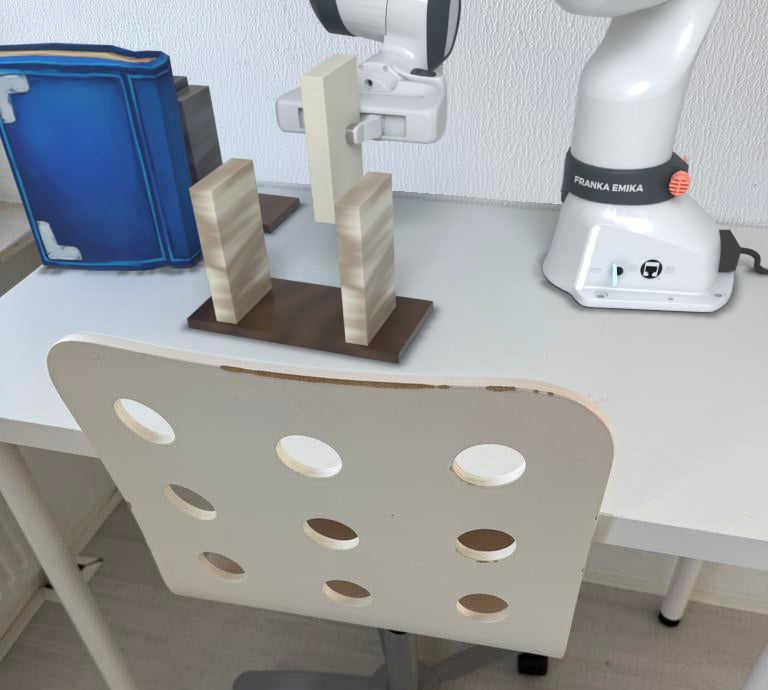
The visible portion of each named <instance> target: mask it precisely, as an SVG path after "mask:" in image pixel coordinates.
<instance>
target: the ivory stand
mask: <svg viewBox="0 0 768 690" xmlns="http://www.w3.org/2000/svg"><path fill="white" fill-rule="evenodd" d="M255 172H256V171H255V166H254V159H248V158H238V157H237V158H236V157H231V158H230V159H228V160H226V161H225V162H224V163H223V164H222V165H221V166H220V167H218V168H217V169H216V170H214V171H213V172H211V173H210V174H209V175H207V176H206V177H204V178H203V179H202V180H200V181H199V182H197V183H196V184H195V185H193V186H192V187H190V188H189V191H190V196H191V200H192V205H193V210H194V214H195V219H196V224H197V229H198V233H199V238H200V243H201V248H202V257H203V262H204V266H205V270H206V275H207V280H208V285H209V289H210V290H209V291H210V297H209V298H207V299H206V300H205V301H204V302H203V303H202V304H200V306H199V307H198V308H197V309H195V310H194V311H193V312H192V313H191V314H190V315H189V316H188V317H187V318H186V321H187V325H188V328H189V329H195V330H200V331H205V332H212V333H218V334H224V335H229V336H235V337H241V338H246V339H253V340H259V341H263V342H269V343H276V344H282V345H288V346H294V347H300V348H305V349H311V350H316V351H322V352H327V353H332V354H333V353H334V354H340V355H346V356H351V357H357V358H363V359H369V360H375V361H381V362H386V363H393V364H396V365H397V364H400V362H401V361H402V359H403V358H404V356H405V354H406V353H407V351H408V350H409V349H410V347H411V345H412V343H413V342H414V340H415V339H416V337H418V334H419V333H420V332H421V330H422V328H423V327H424V325H425V323H426V322H427V321H428V319H429V318H430V316H431V314H432V312H433V311H434V301H433V300H429V299H420V298H416V297H415V298H414V297H407V296H403V295H396V271H395V270H396V268H395V267H396V266H395V264H396V263H395V239H394V237H395V236H394V235H395V233H394V204H393V203H394V202H393V201H394V200H393V175H392V174H393V173H390V172H379V171H367V172H366V173H365V174H363V177H362V178H361V179H360V180H359V181H358V182H357V183H356V184H355V185H354V186H353V187H352V188H351V189H350V190H349V191H348V192H347V193H346V194H345V195H344V196H343V197H342V198H341V199H340V200H339V201H338V202H337V203H336V204H335V205H334V208H335V220H336V224H335V230H336V241H337V243H336V244H337V253H338V254H337V256H338V266H339V279H340V287H339V286H333V285H327V284H326V285H325V284H318V283H312V282H306V281H299V280H291V279H284V278H277V277H272V276H271V273H270V265H269V258H268V252H267V244H266V239H265V238H266V237H265V233H264V231H263V225H262V218H261V212H260V205H259V198H258V193H259V192H258V186H257V180H256V179H257V178H256V173H255Z"/></svg>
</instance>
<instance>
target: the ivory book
mask: <svg viewBox="0 0 768 690" xmlns="http://www.w3.org/2000/svg"><path fill="white" fill-rule="evenodd" d="M357 63H358V62H357V54H347V53H333V54H332V55H330V56H329V57H327V58H326V59H324V60H323V61H321V62H320V63H318V64H317V65H315V66H313V67H312V68H310V69H309V70H307V71H306V72H304V73H303V74H301V75H300V76H299V84H300V87H301V95H302V104H303V114H304V123H305V133H306V134H305V140H306V141H305V142H306V150H307V159H308V161H307V162H308V170H309V179H310V186H311V187H310V188H311V199H312V205H313V206H312V207H313V217H314V218H313V219H314V222H315V223H320V224H330V225H336V220H335V208H334V205H335V204H336V203H337V202H338V201H339V200H340V199H341V198H342V197H343V196H344V195H345V194H346V193H347V192H348V191H349V190H350V189H351V188H352V187H353V186H354V185H355V184H356V183H357V182H358V181H359V180H360V179H361V178H362V177H363V176H364V164H363V146H362V143H361V144H360V145H353V144H347V143H346V137H347V136H346V132H345V131H346V127H347V126H349V125H350V124H351V123H360V110H359V93H358V76H357V66H358V64H357Z"/></svg>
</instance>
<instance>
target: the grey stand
mask: <svg viewBox="0 0 768 690" xmlns="http://www.w3.org/2000/svg"><path fill="white" fill-rule="evenodd" d="M173 78H174V84H175V90H176V95H177V101H178V107H179V112H180V118H181V124H182V129H183V135H184V140H185V146H186V152H187V157H188V163H189V169H190V174H191V180H192V186H193V185H195V184H196V183H197V182H199V181H200V180H202V179H203V178H204V177H206V176H207V175H209V174H210V173H211V172H213V171H214V170H216V169H217V168H218V167H220V166H221V165H222V164H224V163H223V157H222V151H221V146H220V140H219V135H218V130H217V124H216V117H215V113H214V106H213V102H212V95H211V90H210V86H209V85H201V84H189V80H188V76H185V75H173ZM258 198H259V205H260V212H261V218H262V225H263V231H264V234H272V232H273V231H274V230H276V229H277V228H278V227H279V226H280V225H281V224H282V223H283V222H284V221H285V220H286V219H287V218H289V217H290V216H291V215H292V214H293V213H294V212H295V211H296V210H298V208H300V207H301V201H300V197H296V196H295V197H294V196H286V195H279V194H269V193H261V192H258Z"/></svg>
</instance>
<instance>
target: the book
mask: <svg viewBox="0 0 768 690" xmlns="http://www.w3.org/2000/svg"><path fill="white" fill-rule="evenodd" d="M171 61H172V60H171V56H170V55H169V54H168V53H166V52H164V51H163V50H148V49H147V50H136V51H135V50H131V49H127V48H123V47H120V46H117V45H114V44H95V43H75V42H74V43H73V42H42V43H40V42H39V43H18V44H0V141H1V144H2V147H3V150H4V153H5V155H6V159H7V162H8V164H9V168H10V171H11V174H12V177H13V180H14V183H15V185H16V189H17V191H18V194H19V198H20V200H21V203H22V206H23V210H24V212H25V215H26V219H27V222H28V224H29V226H30V230H31V234H32V236H33V239H34V242H35V245H36V248H37V251H38V254H39V258H40V261H41V263H42V265H43V266H44V267H45V266H46V267H57V268H68V269H69V268H71V269H80V270H91V271H92V270H93V271H148V270H153V269H156V268H161V267H166V266H167V267H172V268H176V269H177V268H190V267H191V266H192V265H193V264H195V263H196V262H197V261H198V260H199V259H201V257H203V252H202V248H201V243H200V238H199V233H198V229H197V224H196V219H195V214H194V210H193V205H192V200H191V196H190V191H189V188H190V187H192V180H191V174H190V169H189V163H188V157H187V152H186V146H185V140H184V135H183V129H182V124H181V118H180V112H179V107H178V101H177V95H176V90H175V84H174V78H173V76H174V74H173V67H172V62H171Z"/></svg>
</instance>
